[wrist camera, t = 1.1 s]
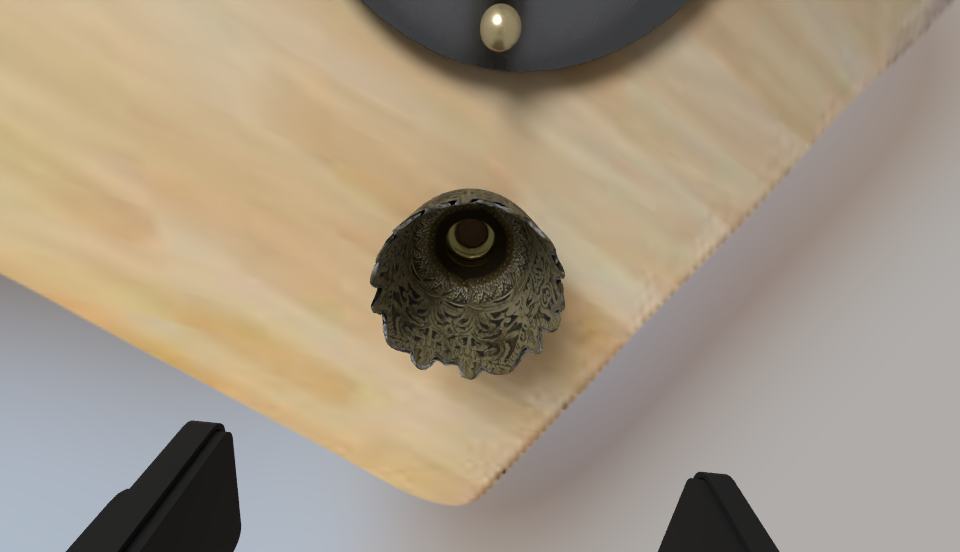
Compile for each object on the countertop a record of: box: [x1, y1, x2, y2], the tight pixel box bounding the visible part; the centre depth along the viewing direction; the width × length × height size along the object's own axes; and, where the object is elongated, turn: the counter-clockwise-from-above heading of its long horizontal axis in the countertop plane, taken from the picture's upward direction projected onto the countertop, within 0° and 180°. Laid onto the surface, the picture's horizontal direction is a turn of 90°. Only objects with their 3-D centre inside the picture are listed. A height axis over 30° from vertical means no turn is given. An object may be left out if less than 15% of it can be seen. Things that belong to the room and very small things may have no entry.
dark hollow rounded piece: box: [370, 189, 565, 380], centre depth 21 cm, size 8×7×8 cm
